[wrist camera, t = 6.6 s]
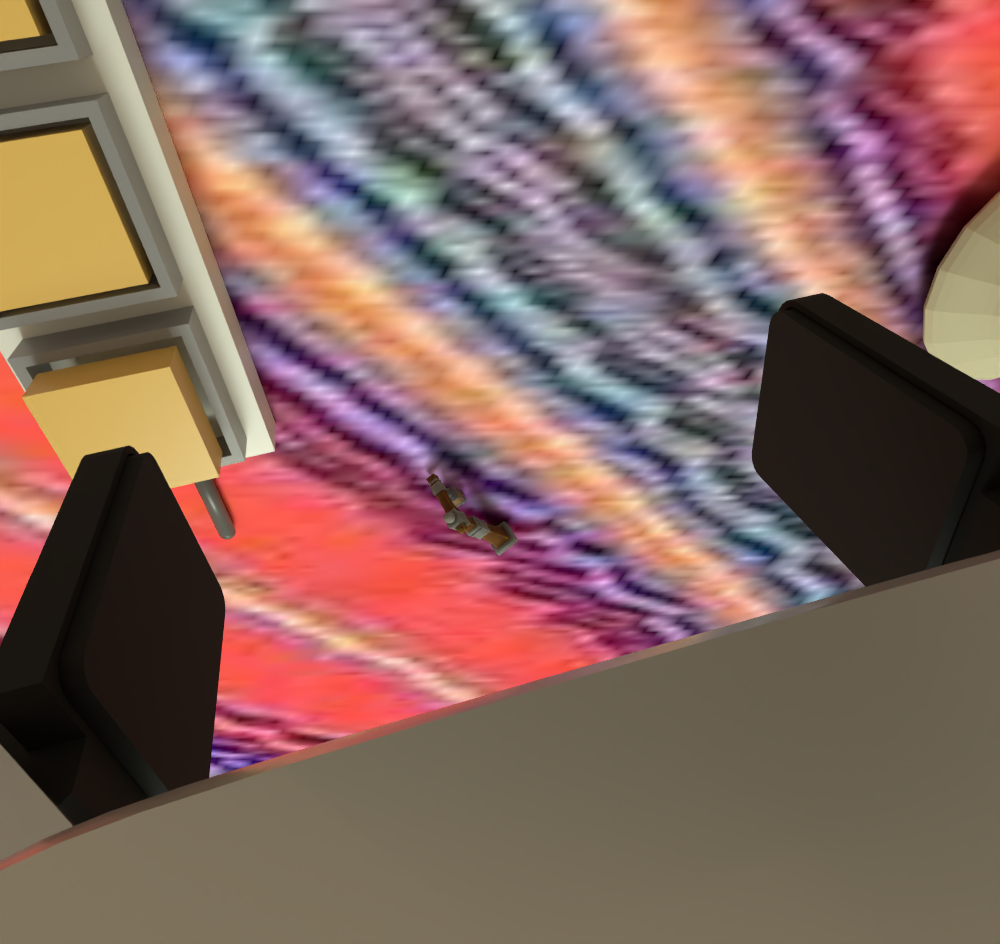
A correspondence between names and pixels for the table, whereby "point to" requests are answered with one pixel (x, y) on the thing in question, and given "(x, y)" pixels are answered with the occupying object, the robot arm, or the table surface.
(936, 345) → the handbell
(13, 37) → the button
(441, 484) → the wooden post with brackets
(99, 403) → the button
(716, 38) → the table surface
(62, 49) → the strip
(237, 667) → the table surface
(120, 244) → the button middle
